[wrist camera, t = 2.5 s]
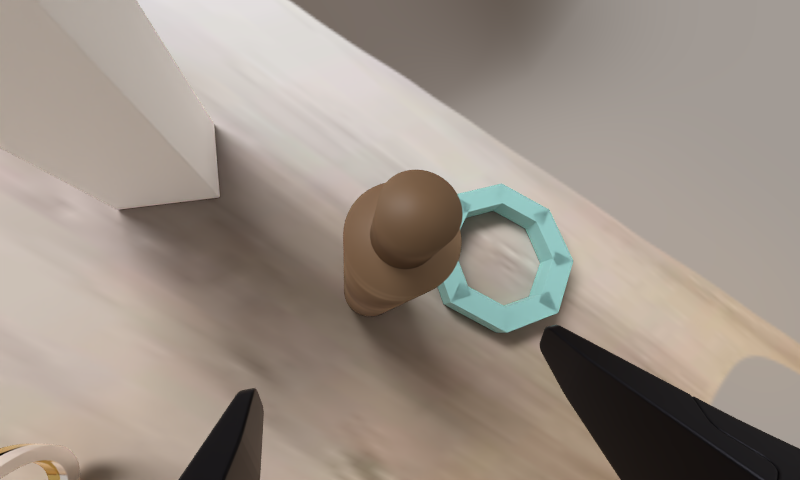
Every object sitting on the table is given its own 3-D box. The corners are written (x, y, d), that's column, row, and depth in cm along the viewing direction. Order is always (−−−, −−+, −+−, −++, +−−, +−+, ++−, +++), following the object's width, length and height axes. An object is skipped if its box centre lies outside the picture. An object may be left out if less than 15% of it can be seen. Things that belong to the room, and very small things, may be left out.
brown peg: (404, 279, 21) (512, 186, 7) (381, 326, 19) (459, 315, 6) (360, 255, 20) (388, 118, 7) (334, 300, 19) (311, 235, 6)
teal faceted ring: (568, 234, 24) (582, 228, 23) (532, 352, 21) (546, 353, 19) (460, 174, 24) (468, 164, 22) (406, 284, 20) (411, 280, 19)
